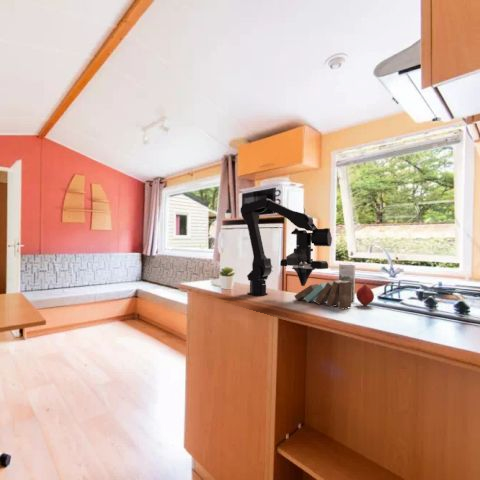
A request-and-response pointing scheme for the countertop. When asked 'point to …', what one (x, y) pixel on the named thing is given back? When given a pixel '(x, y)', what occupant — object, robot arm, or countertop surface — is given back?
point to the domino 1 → (305, 292)
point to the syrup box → (348, 276)
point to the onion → (365, 295)
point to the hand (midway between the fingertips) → (302, 285)
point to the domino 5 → (344, 294)
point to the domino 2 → (315, 293)
